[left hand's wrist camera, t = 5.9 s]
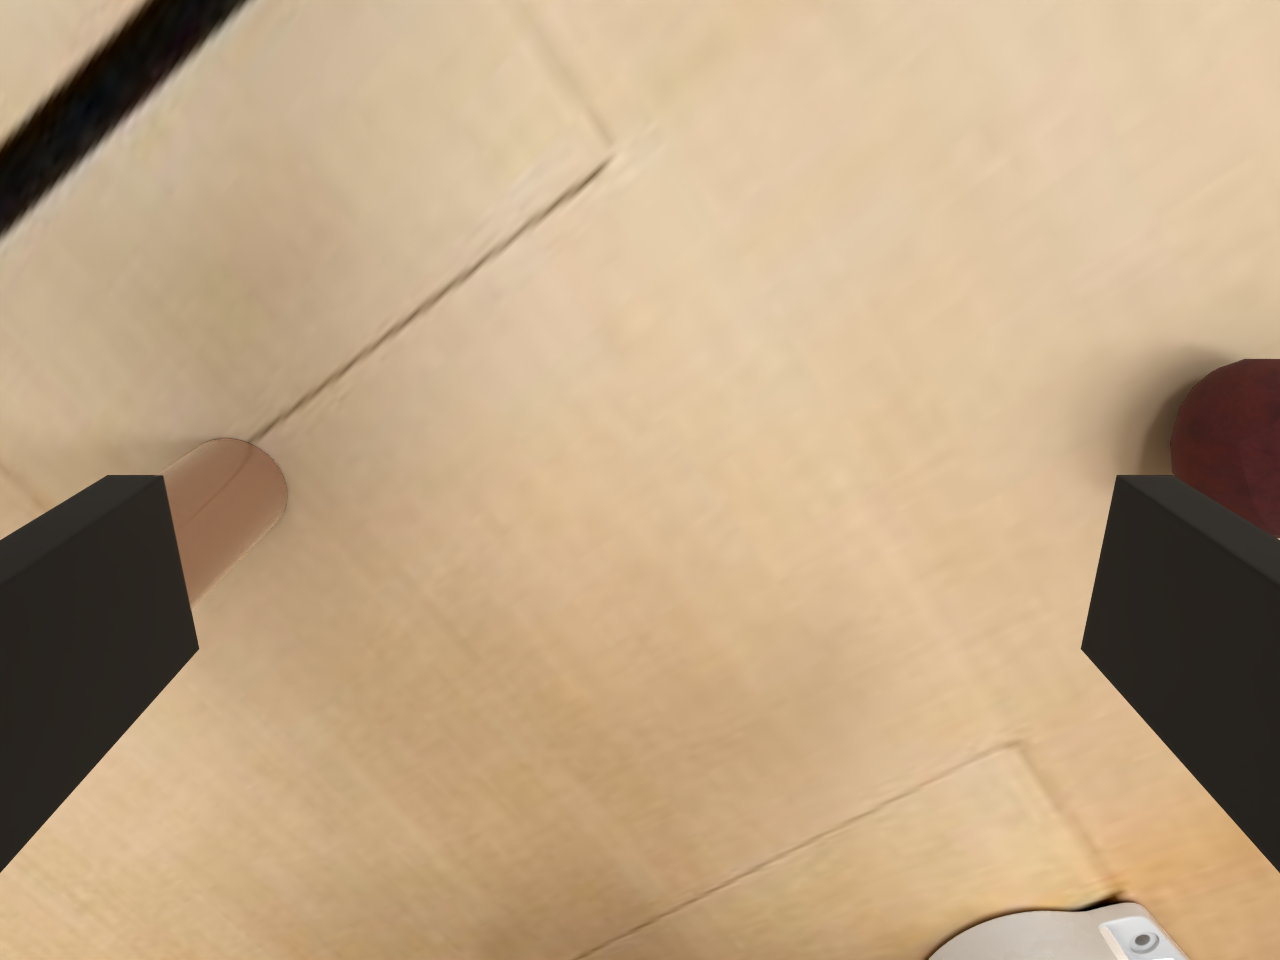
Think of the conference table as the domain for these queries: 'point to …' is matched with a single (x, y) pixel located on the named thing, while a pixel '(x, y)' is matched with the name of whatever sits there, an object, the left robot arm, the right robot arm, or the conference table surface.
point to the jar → (221, 508)
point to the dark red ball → (1234, 440)
